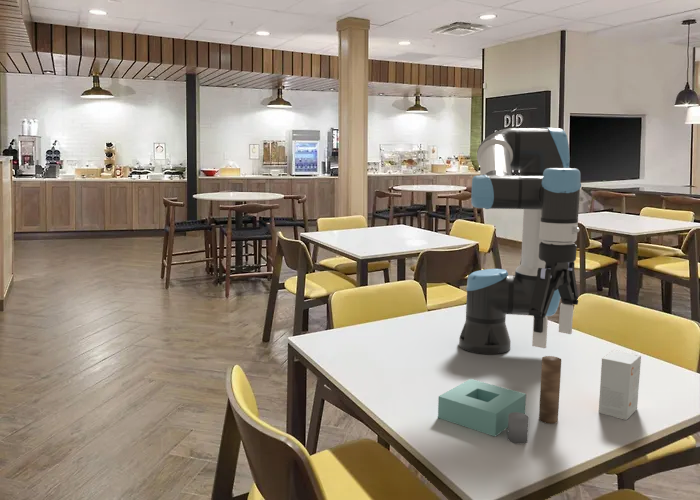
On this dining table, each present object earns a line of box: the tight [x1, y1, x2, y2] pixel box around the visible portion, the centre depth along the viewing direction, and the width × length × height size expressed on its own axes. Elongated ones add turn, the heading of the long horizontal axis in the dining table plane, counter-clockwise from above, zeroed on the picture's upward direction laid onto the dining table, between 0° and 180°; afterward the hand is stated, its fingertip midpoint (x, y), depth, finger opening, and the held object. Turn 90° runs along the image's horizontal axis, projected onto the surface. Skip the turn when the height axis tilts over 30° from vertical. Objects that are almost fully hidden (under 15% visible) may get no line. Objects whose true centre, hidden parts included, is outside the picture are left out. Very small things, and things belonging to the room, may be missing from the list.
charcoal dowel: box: [507, 412, 530, 445], centre depth 128 cm, size 4×4×5 cm
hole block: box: [437, 378, 527, 437], centre depth 139 cm, size 14×14×5 cm
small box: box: [598, 349, 642, 421], centre depth 141 cm, size 8×6×13 cm
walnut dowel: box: [538, 355, 562, 425], centre depth 136 cm, size 4×4×14 cm
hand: (552, 339), depth 134 cm, fingers open, 13 cm apart
